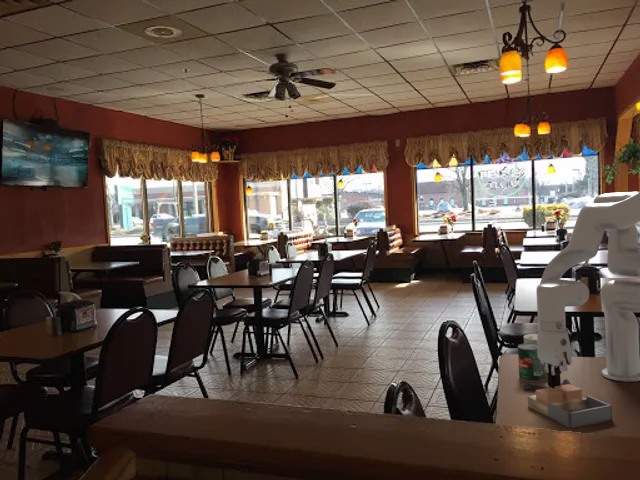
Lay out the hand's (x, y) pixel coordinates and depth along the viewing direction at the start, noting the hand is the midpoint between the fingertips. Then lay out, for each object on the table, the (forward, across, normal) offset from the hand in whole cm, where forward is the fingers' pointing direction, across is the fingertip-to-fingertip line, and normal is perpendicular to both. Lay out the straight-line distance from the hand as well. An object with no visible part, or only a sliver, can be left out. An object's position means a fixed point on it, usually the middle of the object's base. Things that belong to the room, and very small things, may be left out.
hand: (554, 386), depth 163 cm
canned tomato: (+4, +20, -6) cm, 21 cm away
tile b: (+1, -6, +6) cm, 9 cm away
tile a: (+1, -6, 0) cm, 6 cm away
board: (+4, -5, +3) cm, 8 cm away
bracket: (+5, +8, -4) cm, 11 cm away
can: (+4, +27, -15) cm, 31 cm away
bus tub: (+4, -14, +3) cm, 15 cm away
